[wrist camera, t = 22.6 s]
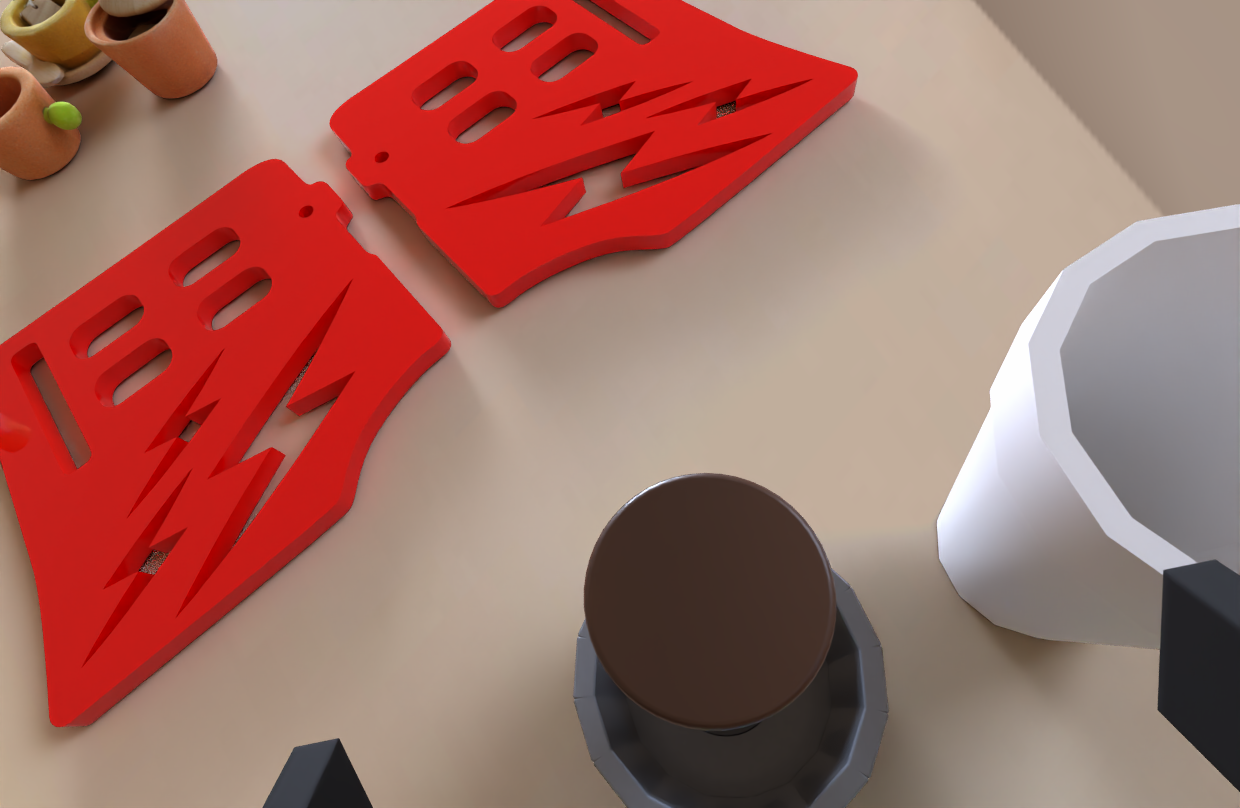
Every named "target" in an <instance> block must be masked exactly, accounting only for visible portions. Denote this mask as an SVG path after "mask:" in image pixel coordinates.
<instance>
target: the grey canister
mask: <svg viewBox="0 0 1240 808" xmlns="http://www.w3.org/2000/svg"><path fill="white" fill-rule="evenodd" d="M831 570H832V574H833V577H834V583H835V590H836V608H837V613H836V622H835V630H834V634H833V638H832V642H831V646H830V649H829V651H828V653H827V656H826V658H825V661H824V663H823V665H822V667H821V668H820V670H819V672H818V673H817V675H816V677H815V678H814V680H813V681H812V682H811V683H810V685H809V686H808V687H807V688H806V690H805V691H804V692H803V693H802V694H801V695H800V696H799V697H798V698H797V699H796V700H795V701H794V702H792V703H791V704H790V705H789V706H787V707H786V708H784V709H783V710H782V711H780V712H779V713H777V714H776V715H774V716H772V717H770V718H768V719H766V720H764V721H762V722H761V723H760V724H759V725H758V726H756V727H755V728H753V729H752V730H750V731H748V732H746V733H744V734H741V735H737V736H730V737H723V736H716V735H712V734H709V733H706V732H704V731H702V730H696V729H689V728H685V727H682V726H678V725H674V724H671V723H669V722H667V721H664V720H662V719H660V718H657V717H655V716H654V715H652V714H650V713H649V712H647V711H645V710H644V709H642V708H641V707H639V706H638V705H637V704H636V703H634V702H633V701H632V700H631V699H629V698H628V697H627V696H626V695H625V694H624V693H623V692H622V691H621V690H620V689H619V688H618V687H617V686H616V685H615V683H614V682H613V681H612V679H611V678H610V676H609V675H608V674H607V672H606V671H605V669H604V668H603V666H602V664H601V662H600V660H599V659H598V657H597V655H596V652H595V650H594V647H593V645H592V642H591V640H590V636H589V632H588V629H587V625H586V619H585V620H584V622H583V625H582V627H581V629H580V631H579V633H578V636H579V637H578V638H577V647H576V662H575V677H574V693H573V697H574V704H575V707H576V711H577V714H578V717H579V721H580V724H581V727H582V731H583V734H584V737H585V740H586V744H587V747H588V750H589V754H590V757H591V760H592V761H593V762H594V766H595V767H596V768H597V770H598V771H599V772H600V774H601V775H602V776H603V777H604V779H605V780H606V781H607V783H608V784H609V785H610V786H611V788H612V789H613V790H614V792H615V793H616V794H617V795H618V797H619V798H620V799H621V801H622V802H623V803H624V804H625V806H626V807H627V808H846V806H847V805H848V804H849V803H850V802H851V801H852V800H853V798H854V797H855V796H856V795H857V794H858V793H859V792H860V790H861V789H862V788H863V787H864V786H865V785H866V784H867V782H868V780H869V779H868V778H870V777H871V774H872V771H873V767H874V764H875V760H876V757H877V754H878V750H879V747H880V743H881V740H882V737H883V733H884V730H885V726H886V723H887V720H888V714H887V713H888V712H889V707H888V698H887V688H886V679H885V670H884V660H883V651H882V647H881V643H880V641H879V639H878V637H877V635H876V633H875V631H874V629H873V627H872V625H871V623H870V621H869V619H868V618H867V616H866V614H865V612H864V610H863V608H862V606H861V604H860V602H859V600H858V598H857V596H856V594H855V592H854V590H853V589H852V588H851V586H850V585H849V584H848V583H847V582H846V581H845V580H844V579H843V578H842V577H841V576H839V575H838V574H837V573H836V572H835V571H834V570H833V569H832V568H831Z"/></svg>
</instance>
